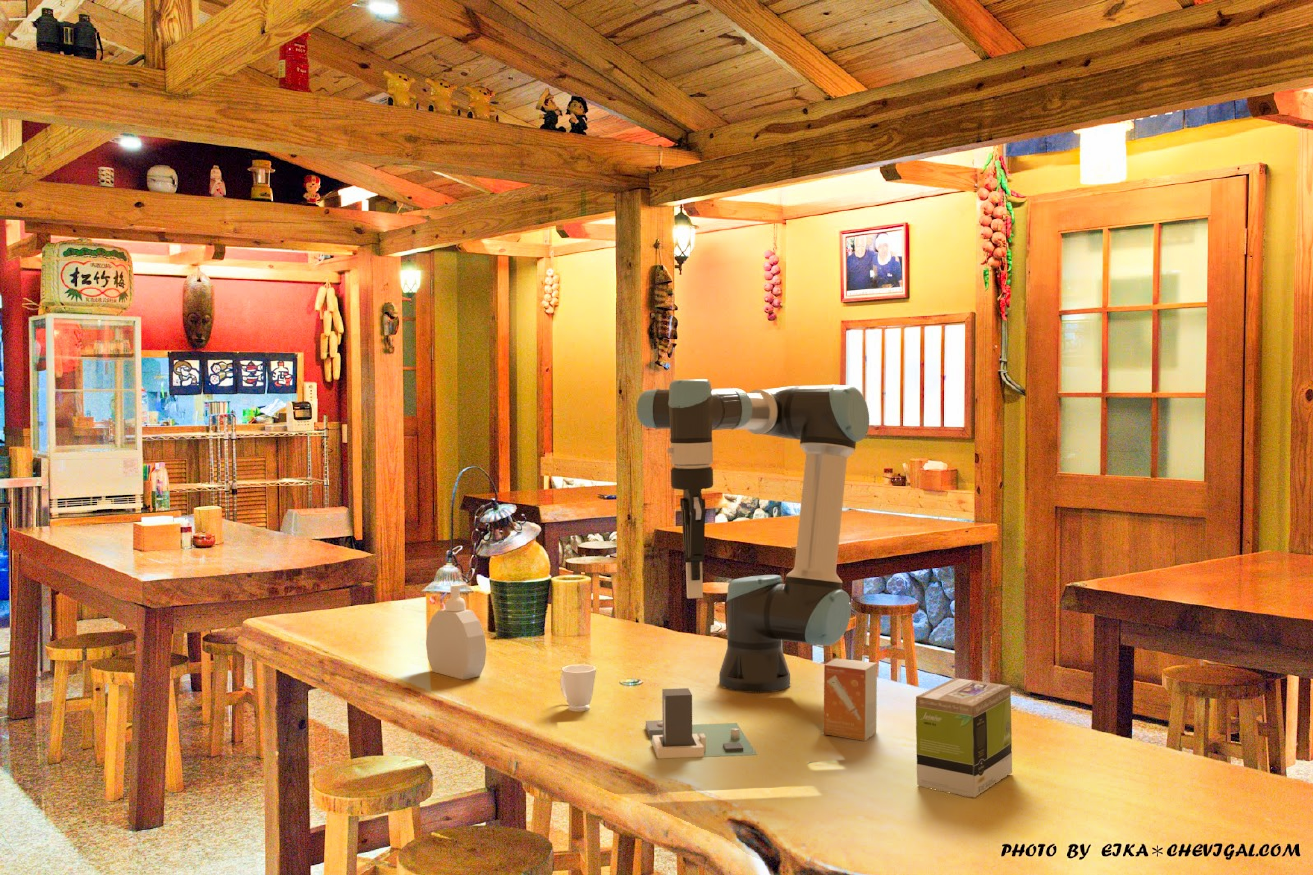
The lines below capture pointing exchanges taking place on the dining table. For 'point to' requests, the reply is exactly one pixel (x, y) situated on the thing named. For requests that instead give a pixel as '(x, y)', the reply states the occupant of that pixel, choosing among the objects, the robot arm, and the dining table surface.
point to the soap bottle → (456, 639)
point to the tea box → (963, 736)
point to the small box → (850, 698)
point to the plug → (677, 717)
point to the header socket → (680, 747)
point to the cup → (578, 686)
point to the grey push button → (654, 727)
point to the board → (722, 740)
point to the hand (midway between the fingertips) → (694, 597)
